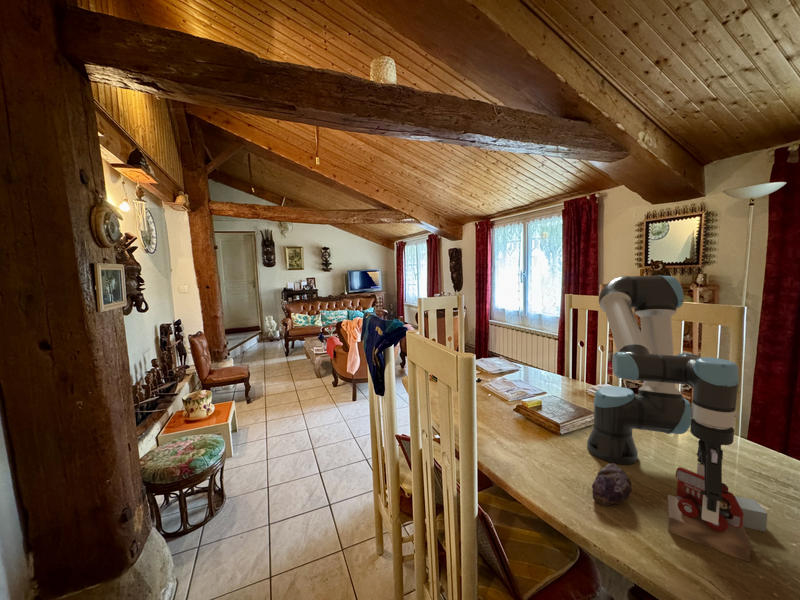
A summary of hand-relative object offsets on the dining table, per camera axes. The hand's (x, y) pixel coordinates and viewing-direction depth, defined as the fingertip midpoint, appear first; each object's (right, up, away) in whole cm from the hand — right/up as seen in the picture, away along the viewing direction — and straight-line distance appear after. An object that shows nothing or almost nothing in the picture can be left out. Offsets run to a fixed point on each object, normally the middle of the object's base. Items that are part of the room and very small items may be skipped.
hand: (706, 503), depth 79 cm
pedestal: (0, -8, +1) cm, 8 cm away
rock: (-15, -7, +13) cm, 21 cm away
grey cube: (+14, -7, +4) cm, 16 cm away
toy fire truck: (0, -4, 0) cm, 4 cm away
